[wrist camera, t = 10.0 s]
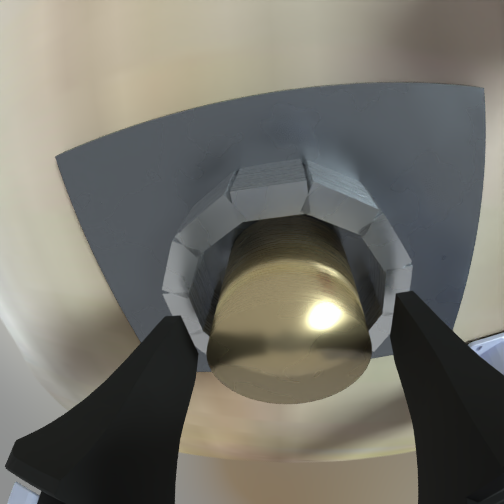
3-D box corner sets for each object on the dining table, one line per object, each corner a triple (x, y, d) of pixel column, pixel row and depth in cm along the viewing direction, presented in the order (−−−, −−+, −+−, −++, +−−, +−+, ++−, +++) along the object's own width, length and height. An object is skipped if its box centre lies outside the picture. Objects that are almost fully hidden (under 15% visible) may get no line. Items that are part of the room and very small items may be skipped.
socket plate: (476, 86, 8) (523, 96, 6) (444, 336, 15) (461, 375, 13) (62, 152, 11) (18, 176, 9) (161, 363, 19) (147, 402, 16)
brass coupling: (345, 208, 11) (380, 291, 7) (345, 306, 14) (362, 396, 10) (217, 222, 12) (185, 308, 8) (240, 315, 15) (226, 405, 10)
